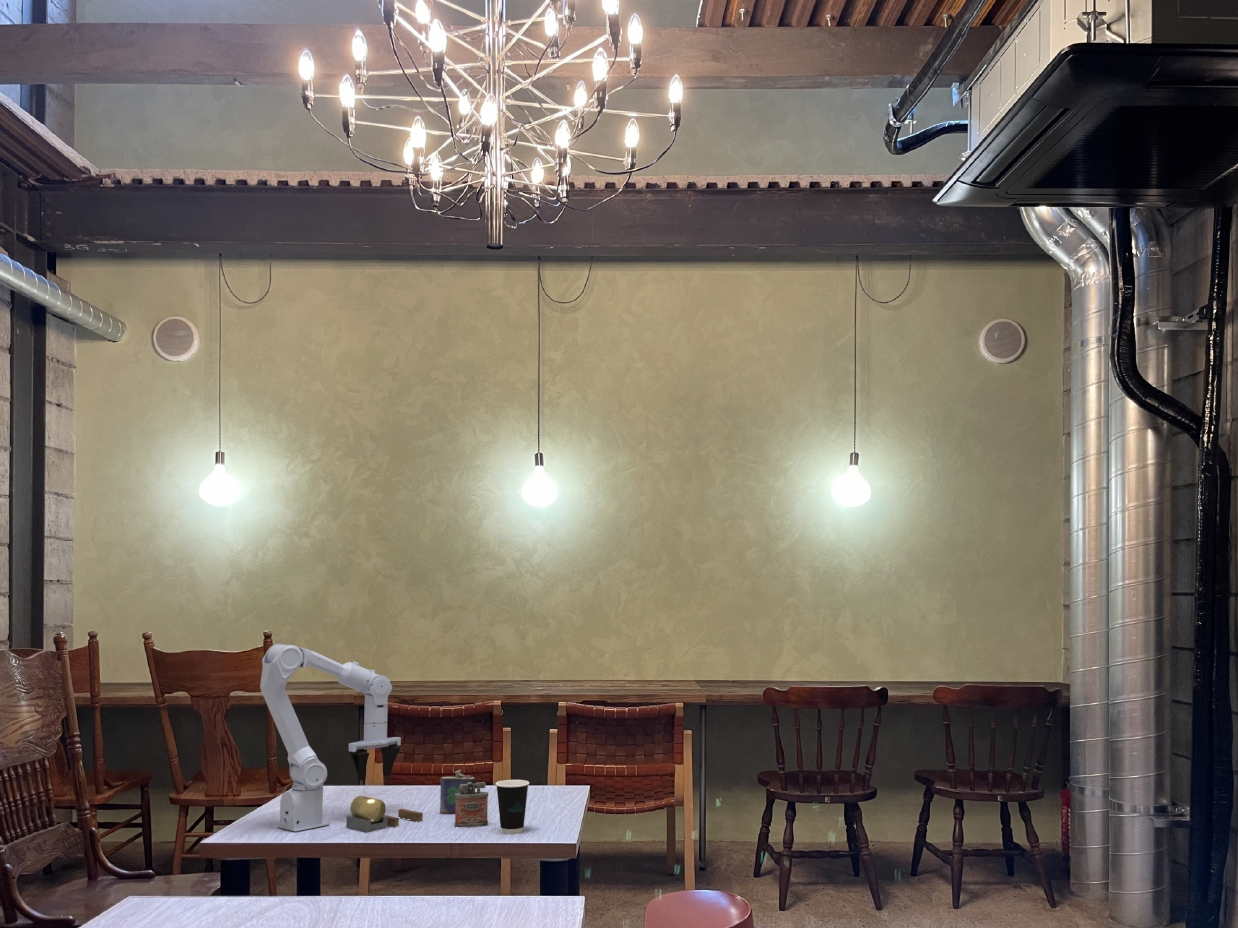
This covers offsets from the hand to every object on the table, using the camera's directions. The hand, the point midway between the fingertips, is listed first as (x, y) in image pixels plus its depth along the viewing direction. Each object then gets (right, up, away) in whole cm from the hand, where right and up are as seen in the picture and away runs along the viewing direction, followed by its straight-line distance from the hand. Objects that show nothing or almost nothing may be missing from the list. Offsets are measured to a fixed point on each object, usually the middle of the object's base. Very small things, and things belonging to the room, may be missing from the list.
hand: (374, 777), depth 253 cm
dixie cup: (+37, -7, -18) cm, 42 cm away
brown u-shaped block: (+8, -8, -8) cm, 14 cm away
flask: (+21, -10, +2) cm, 23 cm away
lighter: (+26, -8, -12) cm, 30 cm away
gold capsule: (+2, -6, -13) cm, 15 cm away
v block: (+1, -8, -13) cm, 16 cm away
